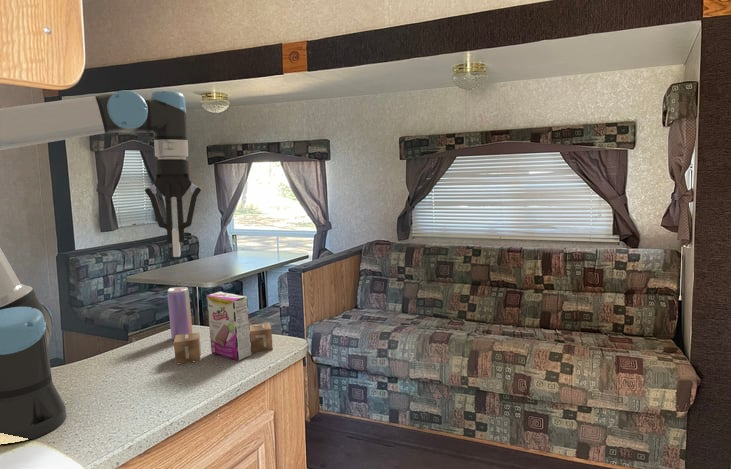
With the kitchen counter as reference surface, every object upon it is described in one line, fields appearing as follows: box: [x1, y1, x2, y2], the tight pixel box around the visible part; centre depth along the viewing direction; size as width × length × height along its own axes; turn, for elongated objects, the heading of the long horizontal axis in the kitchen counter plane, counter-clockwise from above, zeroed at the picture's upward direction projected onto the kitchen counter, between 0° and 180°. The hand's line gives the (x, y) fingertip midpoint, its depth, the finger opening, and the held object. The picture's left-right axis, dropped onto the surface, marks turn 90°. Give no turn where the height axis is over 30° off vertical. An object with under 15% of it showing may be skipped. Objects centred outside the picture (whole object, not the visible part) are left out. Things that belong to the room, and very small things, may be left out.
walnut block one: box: [173, 332, 202, 365], centre depth 144 cm, size 6×6×6 cm
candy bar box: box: [206, 291, 253, 362], centre depth 145 cm, size 11×5×16 cm, turn 54°
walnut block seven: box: [249, 322, 274, 353], centre depth 150 cm, size 6×6×6 cm
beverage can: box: [166, 286, 193, 341], centre depth 160 cm, size 6×6×15 cm
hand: (176, 255), depth 133 cm, fingers closed
